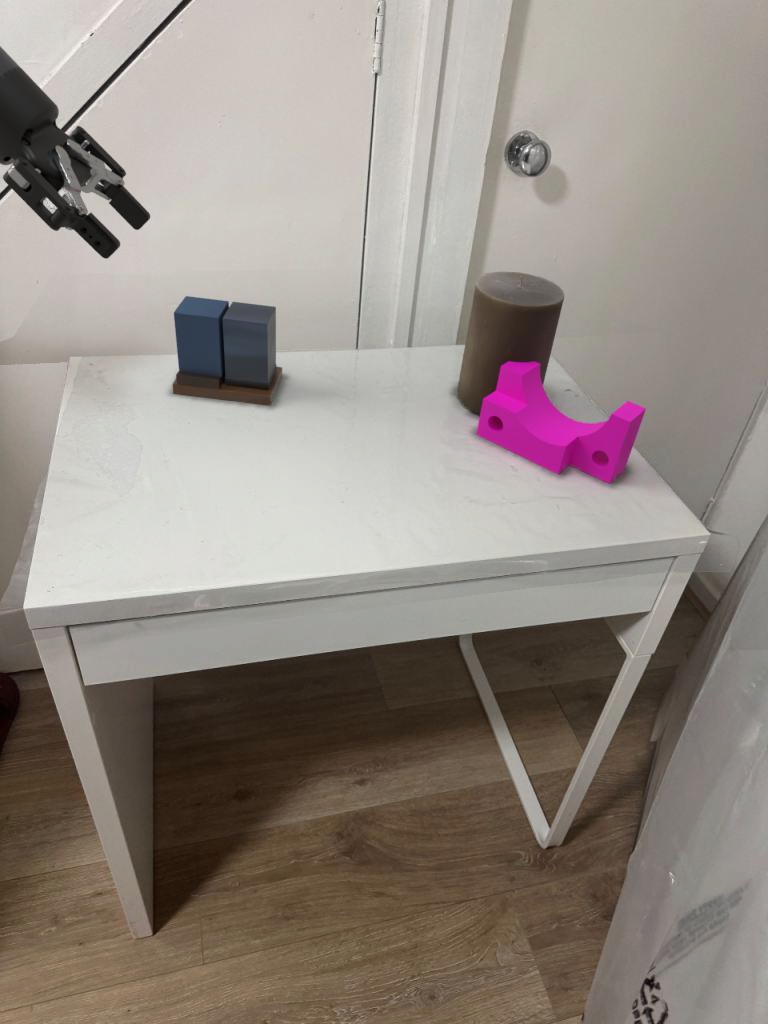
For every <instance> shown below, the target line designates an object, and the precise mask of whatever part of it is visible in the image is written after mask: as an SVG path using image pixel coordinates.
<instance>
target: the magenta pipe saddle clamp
mask: <svg viewBox="0 0 768 1024" xmlns="http://www.w3.org/2000/svg"><path fill="white" fill-rule="evenodd" d="M646 410H647V408H646V407H644V406H642V405H640V404H636V403H635V402H632V401H630V400H627V401H625V402H624V403H623V404H622V405H620V406H619V407H618V408H617V409H616V410H614V411H613V412H612V413H611V414H610V416H609V418H608V419H607V420H604V421H601V422H594V423H593V422H591V423H588V422H582V421H578V420H575V419H573V418H571V417H569V416H567V415H565V414H564V413H563V412H561V411H560V410H559V409H558V408H557V407H556V406H555V405H554V404H553V402H552V401H551V399H550V398H549V397H548V395H547V392H546V391H545V389H544V384H543V385H542V382H541V376H540V363H537V362H535V361H533V362H510V361H508V362H507V363H505V364H503V365H502V366H501V368H500V373H499V378H498V383H497V388H496V391H494V392H493V393H491V394H490V395H488V396H487V397H485V398H483V403H482V408H481V413H480V414H479V419H478V424H477V429H476V435H478V436H479V437H481V438H483V439H486V440H488V441H489V442H492V443H494V444H496V445H498V446H500V447H502V448H504V449H506V450H508V451H510V452H512V453H514V454H516V455H518V456H520V457H522V458H524V459H526V460H529V461H530V462H532V463H535V464H536V465H539V466H540V467H542V468H545V469H547V470H549V471H551V472H552V473H555V474H556V475H560V473H562V472H563V471H564V470H565V469H566V468H567V467H568V466H572V467H574V468H576V469H578V470H580V471H582V472H584V473H586V474H588V475H590V476H592V477H595V478H597V479H599V480H601V481H603V482H605V483H607V484H611V483H612V482H613V481H614V480H615V479H616V478H618V476H619V475H620V474H621V473H622V472H624V471H625V469H626V467H627V464H628V461H629V459H630V455H631V453H632V450H633V448H634V444H635V441H636V439H637V435H638V434H639V430H640V427H641V424H642V422H643V418H644V417H645V413H646Z"/></svg>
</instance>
